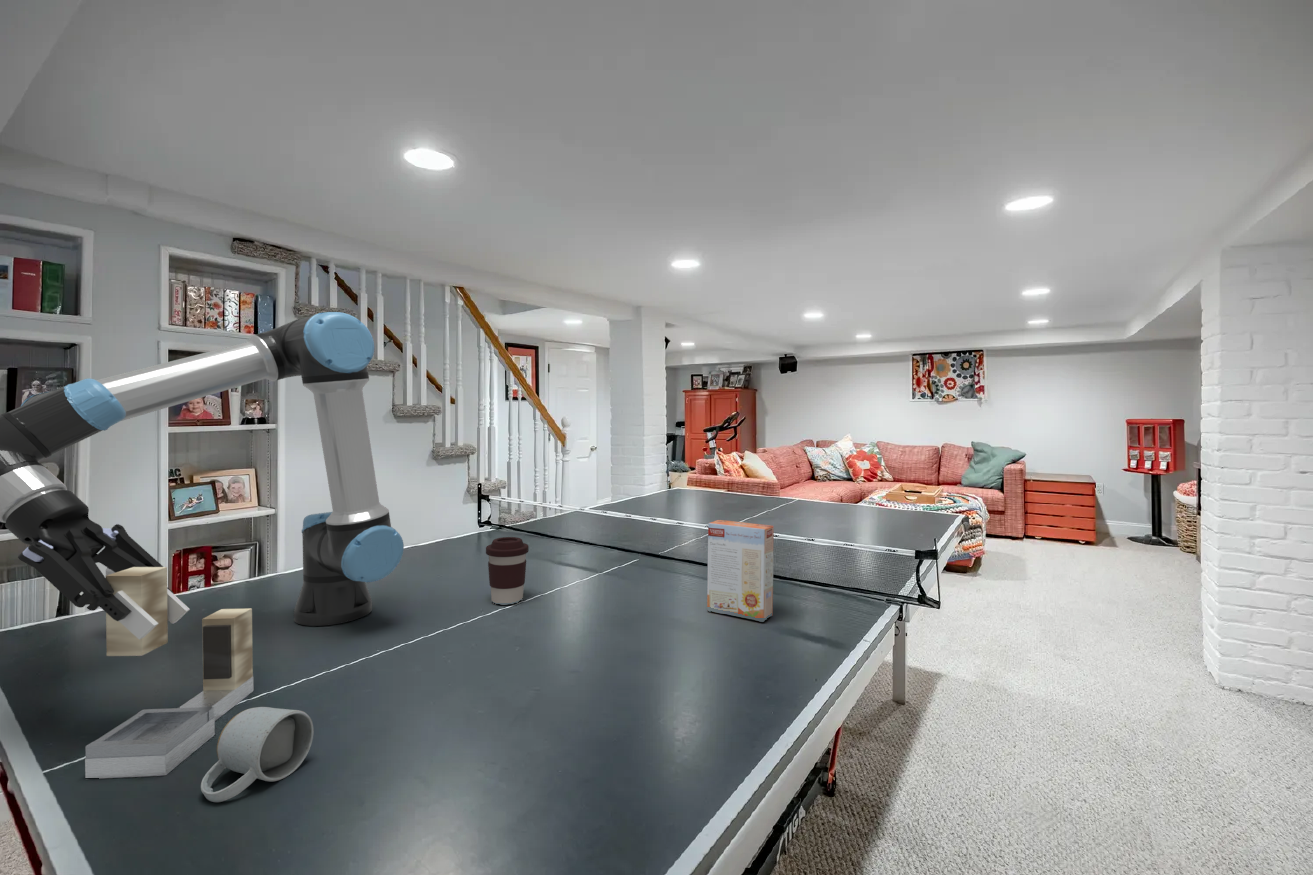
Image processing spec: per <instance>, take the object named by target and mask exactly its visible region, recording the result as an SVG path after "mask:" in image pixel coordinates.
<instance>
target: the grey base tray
mask: <svg viewBox="0 0 1313 875" xmlns="http://www.w3.org/2000/svg"><path fill="white" fill-rule="evenodd" d="M253 692H254V676H253V677H251V678H250V679H249V680H247V681H246V682H245V683H243V684H242V685H241V686H239V687H238V688H236V689H235V690H209V691H203V690H202V691H200V693H198V694H197V695H195V696H194V697H192V698H190V699H189V700H187V701H185V703H184V704H181V706H179V707H177V708H176V707H174V708H152V709H151V708H148V709H146V708H145V709H142V710H140V711H139V712H137V713H136V714H134V715H133V716H131V717H130V718H128V719H127V720H126V721H124V722H122V723H121V724H119V725H118V726H116V727H114V728H113V729H111V730H109V731H108V732H107V733H105V734H104V735H102V736H100V737H99V738H97V739H95V740H94V741H92V742H90V743H88V744H87V745H85V758H84V769H85V770H84V772H85V774H84V776H85V777H84V778H99V779H113V778H114V779H115V778H135V777H137V778H141V777H157V776H163V777H164V776H167V775H168V774H169V773H171V771H173V770H174V769H175V768H176V767H177V766H179V765H180V764H181V763H182V762H184V761H185V760H186V759H188V757H190V756H191V755H192V754H194V753H195V752H196V751H198V749H199V748H201V747H202V746H203V745H204V744H206V743H207V742H209V741H210V739H212V738H213V737H214V736H216V735H215V732H216V731H215V730H216V729H215V727H216V726H215V725H216V724H215V722H216V721H217V720H219V719H220V718H221V717H223V716H224V715H225V714H226V713H227V712H229V711H230V710H231V709H232V708H234V707H235V706H236V705H238V704H239V703H241V701H243V700H244V699H245V698H247V697H248V696H249V695H250V694H252V693H253Z"/></svg>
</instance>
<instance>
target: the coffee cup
mask: <svg viewBox="0 0 1313 875" xmlns="http://www.w3.org/2000/svg"><path fill="white" fill-rule="evenodd" d="M529 547H530V546H529V544H527V543H525V542H524V540H523V539H522V538H521V537H516V536H504V537H498V538H494V539H493V540H492V542H491V544H489V545H487V546H486V547H485V554H486V555H487V556H488V562H487V566H488V567H487V568H488V581H489V586H490V594H491V595H490V597H491V602H492V601H493V602H495V603H512V602H516V601H519V600H520V599H522V598H523V599H524V585H525V582H526V572H527V571H526V570H527V569H526V568H527V558H526V556H527V554H529ZM523 599H522V600H523Z"/></svg>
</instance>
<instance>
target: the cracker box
mask: <svg viewBox="0 0 1313 875" xmlns="http://www.w3.org/2000/svg"><path fill="white" fill-rule="evenodd" d="M707 527H708V528H707V530H708V531H707V580H706V581H707V584H706V585H707V588H706V589H707V591H706V594H707V598H706V600H707V601H706V604H707V606H706V607H711V608H714V609H718V610H723V611H730V612H734V613H738V614H742V615H745V616H751V617H755V618H766V617H767V616H768V615H770V614H771V613H772V614H773V613H774V612H773V611H774V610H773V606H774V605H773V604H774V603H773V600H774V537H775V536H774V535H775V534H774V529H775V528H774V527H775V526H774V525H771V524H770V525H769V524H760V523H750V522H743V521H733V520H725V519H724V520H723V519H717V520H714V521H711V522H710V521H709V522H708V524H707Z"/></svg>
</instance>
